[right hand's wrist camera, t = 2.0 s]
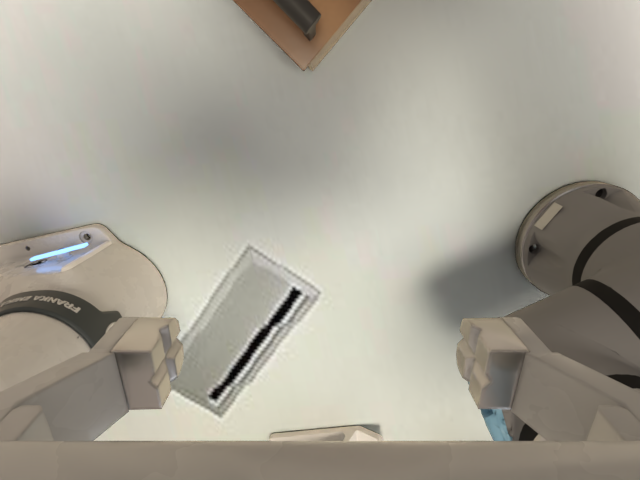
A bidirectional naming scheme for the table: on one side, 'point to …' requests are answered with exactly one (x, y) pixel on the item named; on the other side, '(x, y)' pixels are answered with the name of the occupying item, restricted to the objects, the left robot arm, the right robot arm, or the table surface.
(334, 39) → the chest
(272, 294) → the table surface
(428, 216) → the table surface
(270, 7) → the lid
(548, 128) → the table surface
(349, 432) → the tablet stand
